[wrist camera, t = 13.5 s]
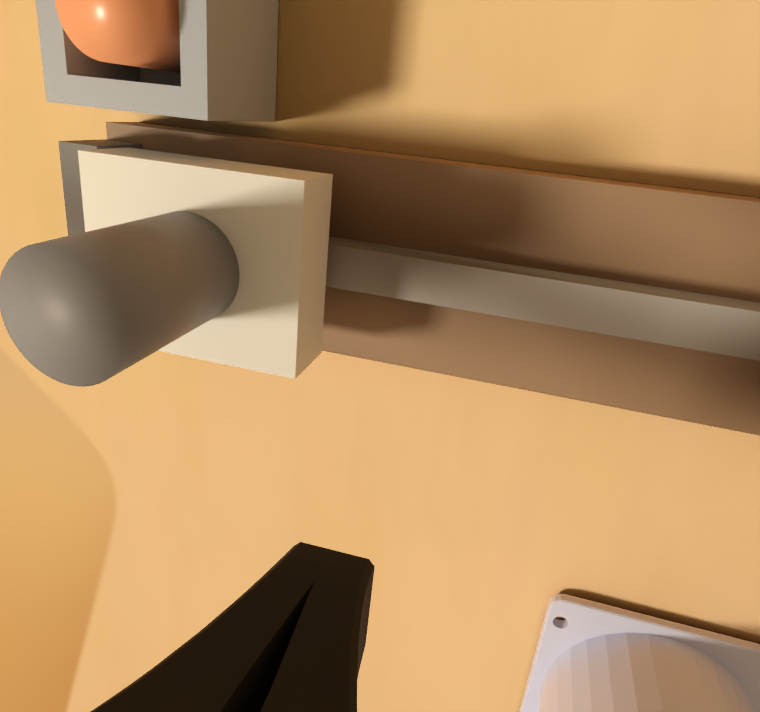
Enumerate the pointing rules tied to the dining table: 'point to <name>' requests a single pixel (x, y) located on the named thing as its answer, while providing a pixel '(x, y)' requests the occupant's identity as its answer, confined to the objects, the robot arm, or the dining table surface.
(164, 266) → the carriage
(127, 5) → the orange cylindrical peg
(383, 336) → the rail board
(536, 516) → the dining table surface
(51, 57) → the box
